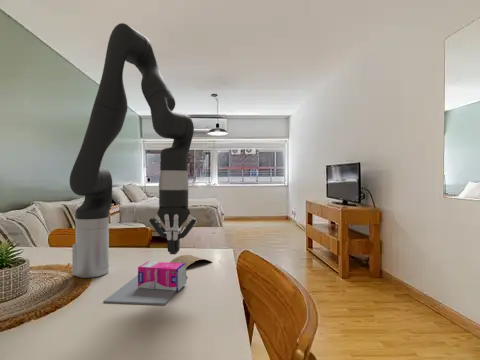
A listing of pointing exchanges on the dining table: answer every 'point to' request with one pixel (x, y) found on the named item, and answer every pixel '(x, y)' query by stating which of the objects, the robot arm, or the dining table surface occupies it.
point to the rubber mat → (139, 295)
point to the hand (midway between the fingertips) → (173, 253)
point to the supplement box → (162, 275)
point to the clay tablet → (186, 259)
